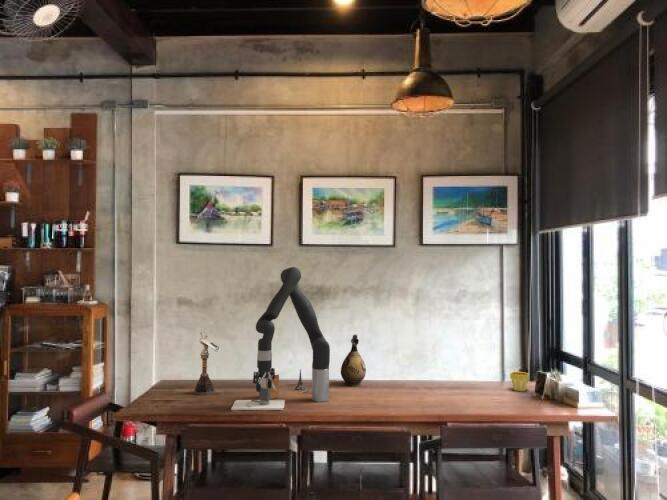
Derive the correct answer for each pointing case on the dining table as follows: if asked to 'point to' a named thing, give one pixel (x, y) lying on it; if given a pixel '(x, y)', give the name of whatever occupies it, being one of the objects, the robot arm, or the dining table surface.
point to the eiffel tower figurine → (301, 385)
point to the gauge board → (258, 405)
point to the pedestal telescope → (205, 369)
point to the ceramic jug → (353, 366)
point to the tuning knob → (264, 396)
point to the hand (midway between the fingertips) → (263, 389)
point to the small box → (275, 386)
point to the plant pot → (519, 380)
